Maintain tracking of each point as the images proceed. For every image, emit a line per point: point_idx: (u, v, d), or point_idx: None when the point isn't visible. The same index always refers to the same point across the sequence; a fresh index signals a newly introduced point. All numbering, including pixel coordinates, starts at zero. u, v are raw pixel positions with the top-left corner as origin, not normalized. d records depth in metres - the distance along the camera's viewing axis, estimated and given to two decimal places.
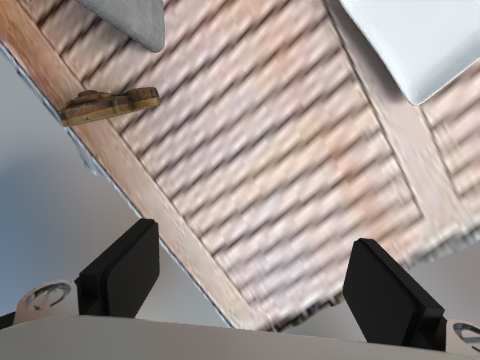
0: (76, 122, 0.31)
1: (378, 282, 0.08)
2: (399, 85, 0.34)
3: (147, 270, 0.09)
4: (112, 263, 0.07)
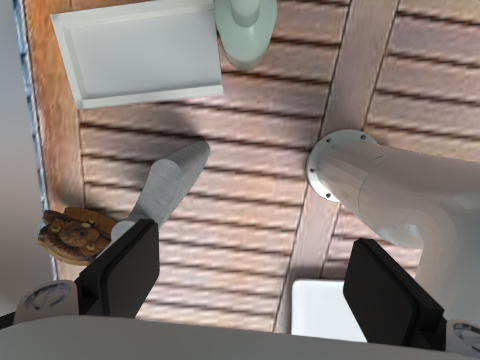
0: None
1: (378, 282, 0.08)
2: None
3: (147, 270, 0.09)
4: (112, 263, 0.07)
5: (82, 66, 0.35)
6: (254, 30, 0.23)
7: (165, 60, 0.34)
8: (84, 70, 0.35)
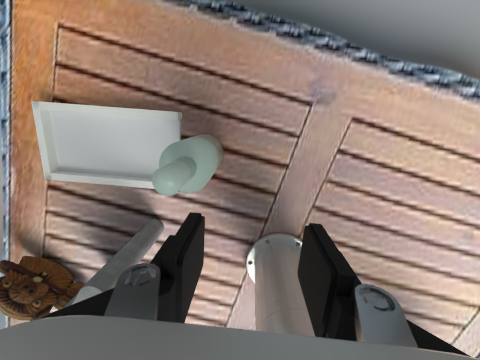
0: None
1: (315, 259, 0.09)
2: None
3: (198, 259, 0.10)
4: (182, 250, 0.08)
5: (56, 142, 0.38)
6: (191, 182, 0.27)
7: (132, 151, 0.38)
8: (57, 145, 0.38)
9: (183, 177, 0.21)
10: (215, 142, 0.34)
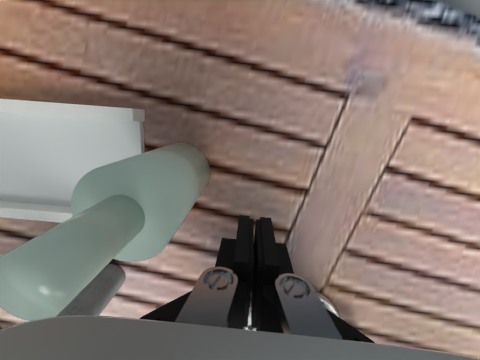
0: None
1: (256, 251, 0.09)
2: None
3: None
4: (249, 253, 0.08)
5: None
6: (136, 242, 0.14)
7: (70, 169, 0.25)
8: None
9: (78, 270, 0.08)
10: (193, 157, 0.21)
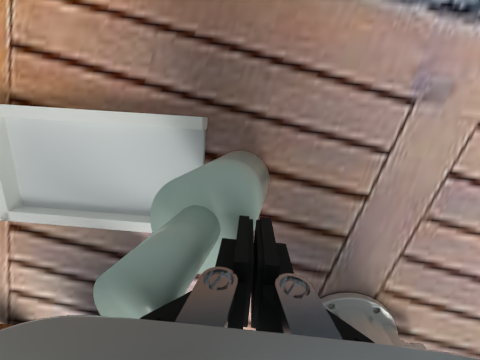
0: None
1: (256, 251, 0.09)
2: None
3: None
4: (249, 253, 0.08)
5: (16, 164, 0.25)
6: (209, 255, 0.13)
7: (130, 177, 0.25)
8: (19, 169, 0.25)
9: (176, 289, 0.08)
10: (257, 166, 0.20)
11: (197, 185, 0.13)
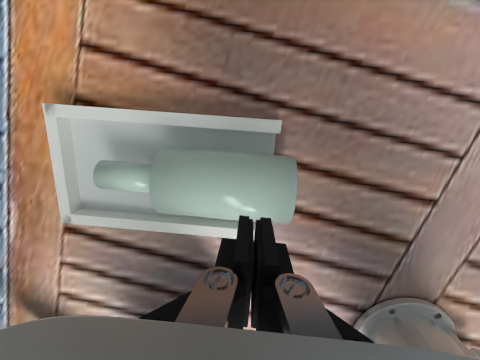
0: None
1: (256, 251, 0.09)
2: None
3: None
4: (249, 253, 0.08)
5: (79, 166, 0.25)
6: None
7: None
8: (81, 171, 0.25)
9: (101, 174, 0.20)
10: (254, 167, 0.18)
11: None
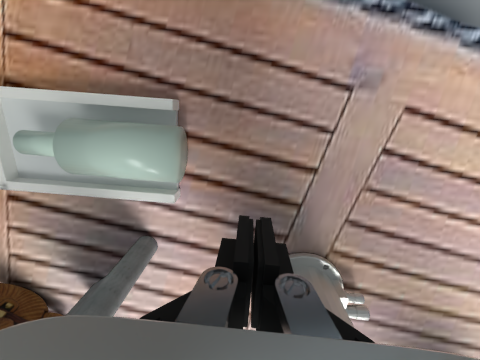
0: None
1: (256, 251, 0.09)
2: None
3: None
4: (249, 253, 0.08)
5: (12, 140, 0.29)
6: None
7: None
8: None
9: (19, 139, 0.24)
10: (140, 131, 0.23)
11: None
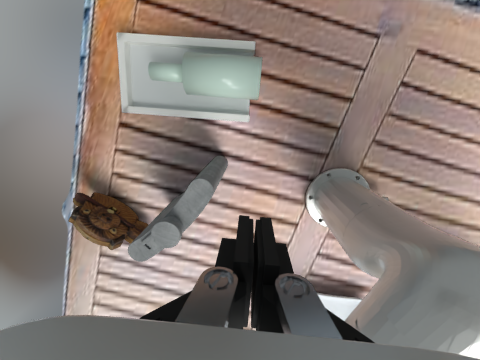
0: (78, 230, 0.39)
1: (256, 251, 0.09)
2: None
3: None
4: (249, 253, 0.08)
5: (133, 77, 0.40)
6: None
7: None
8: (134, 80, 0.40)
9: (153, 65, 0.35)
10: (239, 56, 0.34)
11: None
